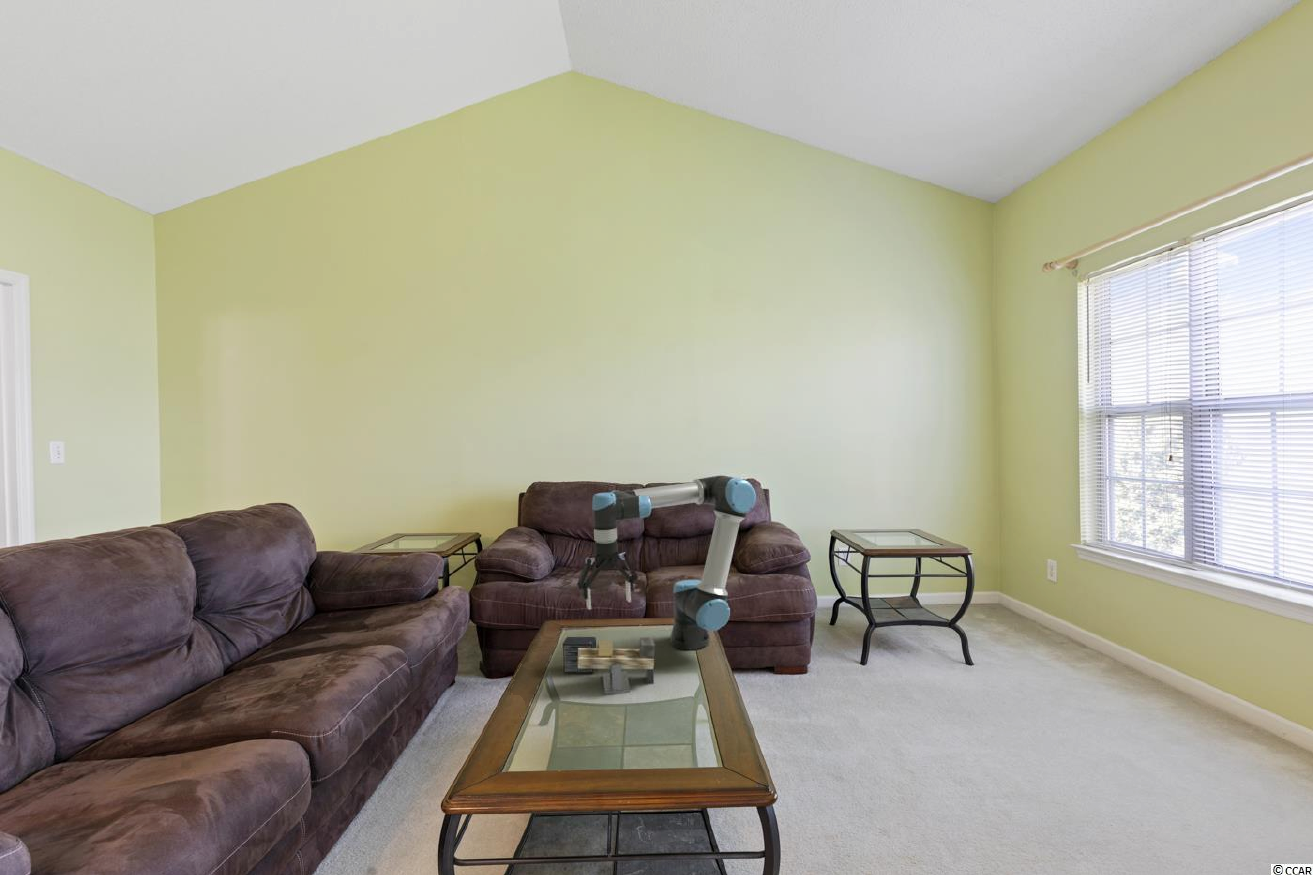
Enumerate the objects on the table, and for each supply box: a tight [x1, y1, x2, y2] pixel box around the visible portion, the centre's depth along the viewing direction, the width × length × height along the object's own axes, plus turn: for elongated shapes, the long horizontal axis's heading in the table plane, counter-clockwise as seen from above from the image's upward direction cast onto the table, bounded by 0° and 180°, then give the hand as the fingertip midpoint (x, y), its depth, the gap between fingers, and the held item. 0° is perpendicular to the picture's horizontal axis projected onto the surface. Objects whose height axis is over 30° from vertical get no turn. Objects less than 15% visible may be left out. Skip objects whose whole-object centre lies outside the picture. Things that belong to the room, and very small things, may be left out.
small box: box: [562, 636, 597, 675], centre depth 189 cm, size 11×6×10 cm, turn 84°
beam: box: [578, 637, 656, 670], centre depth 178 cm, size 24×9×7 cm, turn 99°
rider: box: [597, 640, 614, 658], centre depth 177 cm, size 4×4×5 cm
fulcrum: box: [601, 647, 655, 696], centre depth 179 cm, size 16×12×9 cm
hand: (609, 604), depth 180 cm, fingers open, 13 cm apart
